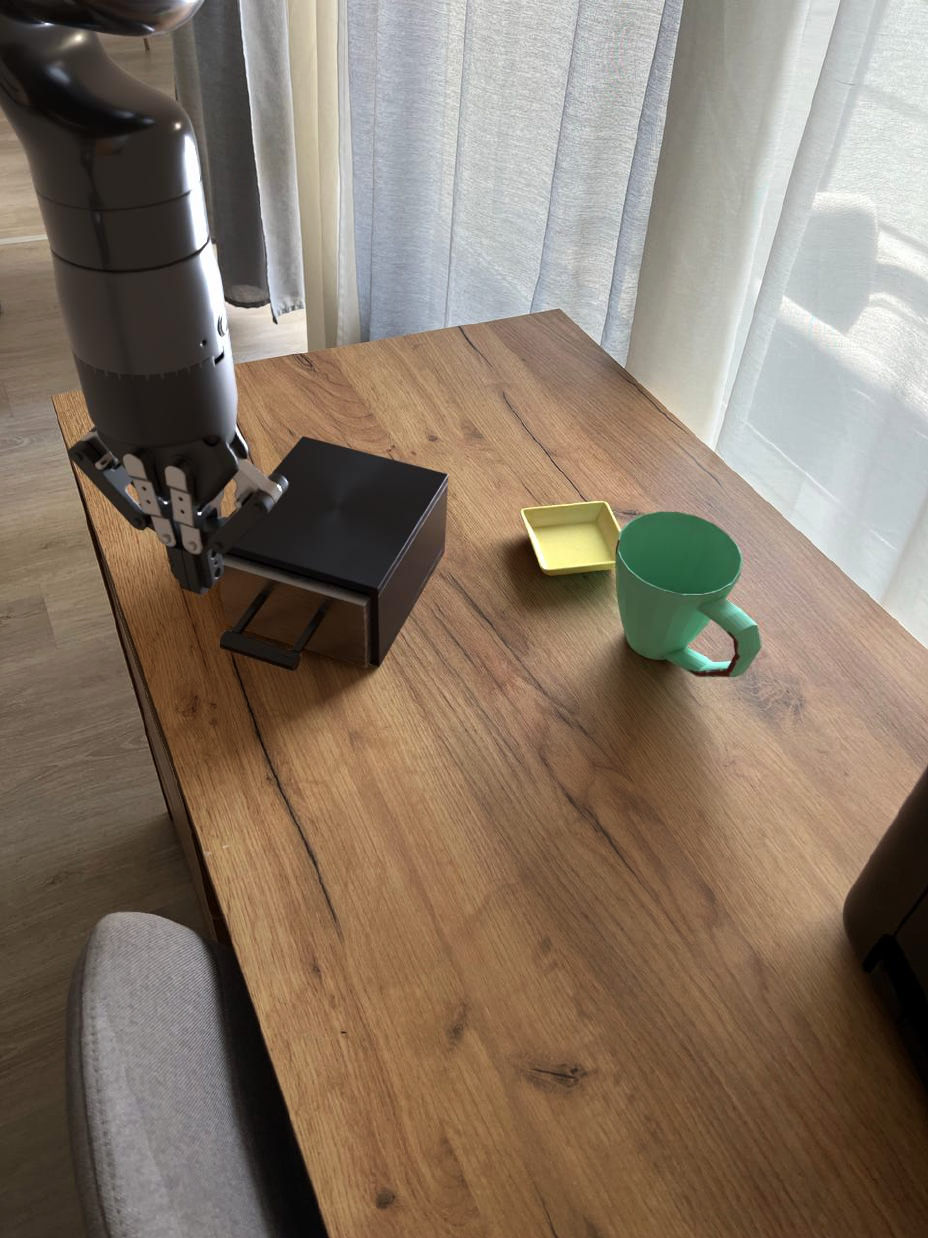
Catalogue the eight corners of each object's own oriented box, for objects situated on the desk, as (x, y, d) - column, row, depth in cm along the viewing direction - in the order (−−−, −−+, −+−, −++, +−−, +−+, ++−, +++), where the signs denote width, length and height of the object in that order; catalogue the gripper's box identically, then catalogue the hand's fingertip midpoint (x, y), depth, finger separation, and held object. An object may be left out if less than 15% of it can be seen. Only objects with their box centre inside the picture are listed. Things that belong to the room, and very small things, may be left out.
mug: (574, 619, 82) (591, 531, 75) (664, 585, 86) (689, 497, 79) (679, 742, 74) (710, 656, 67) (775, 698, 77) (814, 612, 70)
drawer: (335, 721, 72) (331, 659, 67) (189, 674, 75) (174, 610, 70) (429, 558, 85) (432, 496, 80) (303, 522, 88) (297, 460, 83)
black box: (379, 667, 77) (378, 588, 71) (228, 620, 80) (214, 541, 74) (444, 551, 88) (448, 473, 81) (309, 513, 90) (302, 435, 84)
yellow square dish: (539, 587, 85) (541, 570, 83) (516, 524, 91) (518, 507, 89) (631, 578, 86) (635, 560, 85) (603, 516, 92) (606, 499, 91)
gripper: (-17, 334, 45) (71, 594, 58) (231, 398, 43) (268, 656, 55) (78, 267, 50) (141, 520, 63) (306, 321, 48) (324, 574, 60)
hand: (200, 583), depth 59 cm, fingers closed
